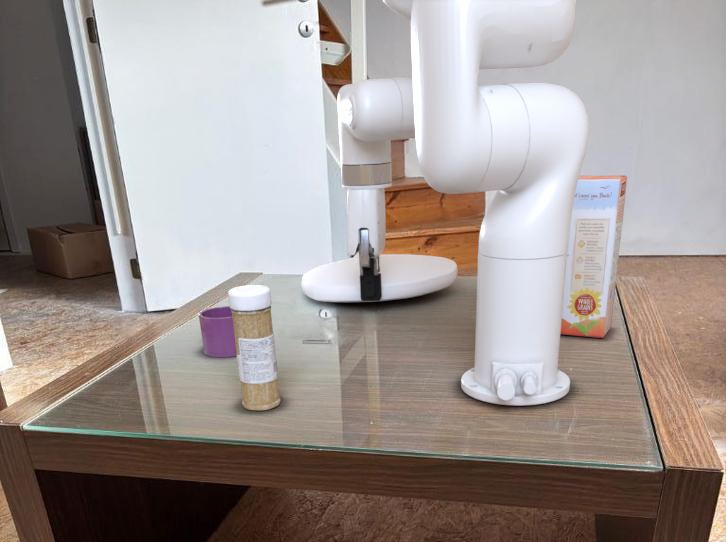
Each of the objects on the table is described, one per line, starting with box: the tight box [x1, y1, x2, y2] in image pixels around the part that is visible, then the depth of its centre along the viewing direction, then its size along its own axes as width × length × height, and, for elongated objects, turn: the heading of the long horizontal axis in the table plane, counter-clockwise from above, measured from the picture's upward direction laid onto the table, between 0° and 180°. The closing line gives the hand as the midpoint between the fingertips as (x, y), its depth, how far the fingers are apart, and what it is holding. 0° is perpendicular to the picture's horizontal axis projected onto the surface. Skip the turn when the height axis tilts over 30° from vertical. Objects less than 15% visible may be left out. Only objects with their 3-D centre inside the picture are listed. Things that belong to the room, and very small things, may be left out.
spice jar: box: [227, 284, 282, 412], centre depth 81 cm, size 5×5×14 cm
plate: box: [300, 253, 458, 303], centre depth 131 cm, size 28×6×27 cm
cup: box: [198, 305, 237, 358], centre depth 103 cm, size 7×7×6 cm
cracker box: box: [560, 174, 628, 339], centre depth 102 cm, size 14×6×21 cm, turn 63°
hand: (371, 299), depth 117 cm, fingers closed
